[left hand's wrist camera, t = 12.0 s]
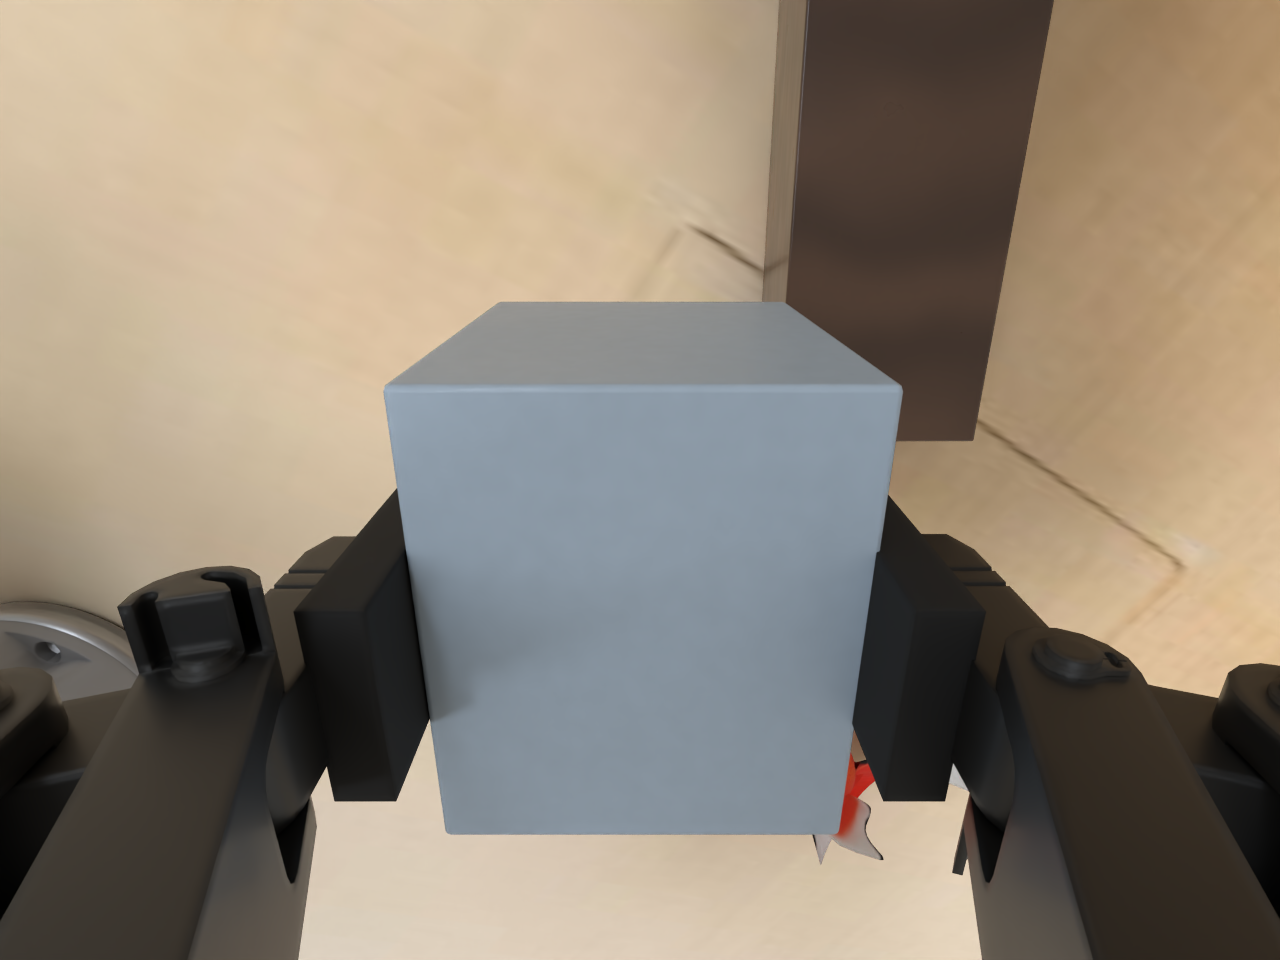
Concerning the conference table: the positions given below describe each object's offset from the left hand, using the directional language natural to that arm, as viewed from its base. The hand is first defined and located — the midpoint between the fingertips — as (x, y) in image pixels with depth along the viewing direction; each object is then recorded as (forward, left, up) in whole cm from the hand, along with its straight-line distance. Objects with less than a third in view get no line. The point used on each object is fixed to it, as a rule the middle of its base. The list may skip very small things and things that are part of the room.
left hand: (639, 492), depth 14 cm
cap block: (0, 0, -2) cm, 2 cm away
